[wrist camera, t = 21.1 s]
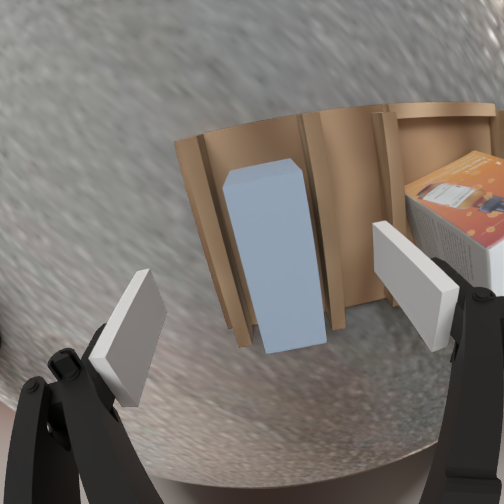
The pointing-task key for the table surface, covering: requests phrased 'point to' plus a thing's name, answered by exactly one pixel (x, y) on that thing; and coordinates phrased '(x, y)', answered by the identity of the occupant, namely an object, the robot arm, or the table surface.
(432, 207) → the small box
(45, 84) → the table surface
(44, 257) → the table surface
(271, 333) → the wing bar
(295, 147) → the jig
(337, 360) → the table surface
